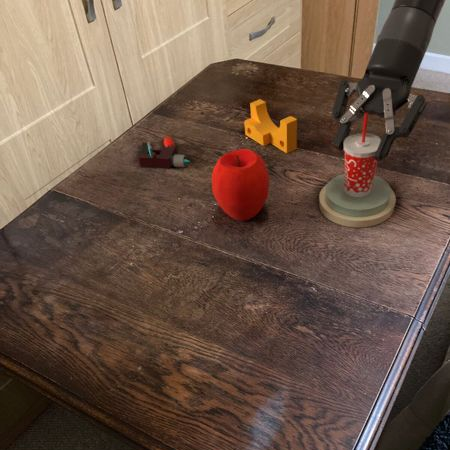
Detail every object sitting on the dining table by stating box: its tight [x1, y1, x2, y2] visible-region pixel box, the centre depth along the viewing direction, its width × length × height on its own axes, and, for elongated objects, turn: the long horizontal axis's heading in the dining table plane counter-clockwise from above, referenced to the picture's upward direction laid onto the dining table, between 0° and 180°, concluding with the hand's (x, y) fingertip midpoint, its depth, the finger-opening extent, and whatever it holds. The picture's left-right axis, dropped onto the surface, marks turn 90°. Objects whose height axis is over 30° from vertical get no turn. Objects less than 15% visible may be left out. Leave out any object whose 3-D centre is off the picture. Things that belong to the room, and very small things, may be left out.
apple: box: [211, 148, 270, 222], centre depth 84 cm, size 10×10×12 cm
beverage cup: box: [343, 112, 382, 198], centre depth 80 cm, size 6×6×14 cm
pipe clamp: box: [244, 98, 298, 154], centre depth 102 cm, size 12×4×6 cm, turn 34°
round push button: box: [318, 173, 397, 229], centre depth 86 cm, size 13×13×3 cm
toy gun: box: [136, 136, 191, 169], centre depth 102 cm, size 10×12×5 cm
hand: (357, 154), depth 79 cm, fingers closed on beverage cup, 6 cm apart
